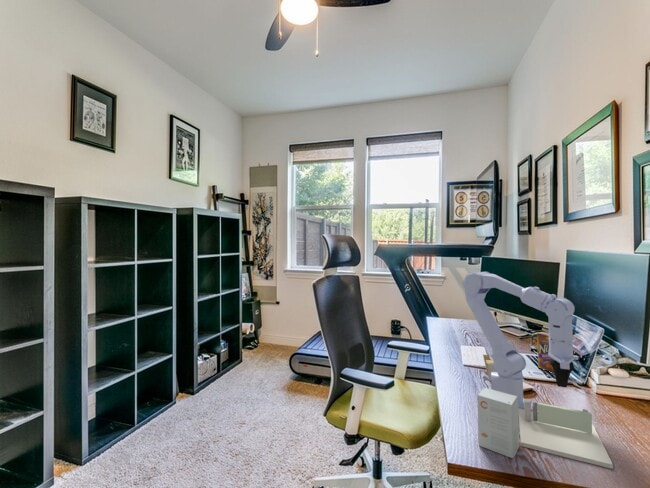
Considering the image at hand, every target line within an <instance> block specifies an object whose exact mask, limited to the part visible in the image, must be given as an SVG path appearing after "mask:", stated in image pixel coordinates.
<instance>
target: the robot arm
mask: <svg viewBox="0 0 650 488" xmlns="http://www.w3.org/2000/svg"><path fill="white" fill-rule="evenodd" d="M462 286H463V288H464V291H465V301H466V303H467V305H468V306H469V309H470V310H471V312H472V314H473V316H474V318H475V320H476V322H477V324H478V325H479V327H480V329H481V330H482V333H483V335H484V337H485V338H486V340H487V342H488V344H489V345H490V347H491V354H490V357H491V358H492V359H493V361H494V368H495V370H496V371H497V372H491V381H490V389H492V390H495V391H499V392H503V393H507V394H511V395H514V396H518V408H519V409H524V400H525V398H524V374H523V371H524V370H525V368H526V366H527V361H526V358H525V357H524V356H523V355H522V354H521V353H520V352H519V351H518V350H517V348H516V346H514V345H512V344H511V343H509V342H508V340H507V338H506V337H505V335H504V333H503V331H502V330H501V328H500V326H499V324H498V322H497V321H496V319H495V317H494V316H493V313H492V312H491V310H490V308H489V307H488V304H487V303H486V302H485V299H486V295H487V293H488V292H489V291H491V289H498V290H500V291H502V292H505V293H507V294H510V295H513V296H516V297H518V298H520V301H521V303H523V304H525V305H526V306H529V307H532V308H534V309H536V310H538V311H540V312H542V313H544V314H545V315H546V316H547V317H548V318H547V319H548V333H549V353H548V355H549V357H551V358H553V359H549V361H550V364H551V365H552V367H553V370H554V374H555V375H554V374H553V375H554V378H555V382H556V384H557V387H560V388H568V387H567V386H568V385H569V384H568V383H569V379H570V375H571V373H572V372H573V370H574V369H575V366H574V364H573V361H575V360H576V361H577V360H579V356H578V355H574V343H573V342H574V341H573V340H574V339H573V320H572V319H573V317H572V315H573V314H574V313H575V308H576V307H575V305H574V303H573V302H572V301H571V300H569V299H567V298H566V297H563V296H562V297H557V295H556V294H554V293H552V294H550V293H547V292H545V291H542V290H540V287H538V286H528V287H523V286H521V285H519V284H516V283H514V282H512V281H509V280H507V279H505V278H503V277H501V276H499V275H497V274H494V273H490V272H489V271H481V272H480V271H479V272H469V273H467V274H466V275H465V277H464V279H463V282H462ZM524 410H525V409H524Z"/></svg>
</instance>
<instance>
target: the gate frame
mask: <svg viewBox="0 0 650 488" xmlns="http://www.w3.org/2000/svg"><path fill="white" fill-rule="evenodd" d="M582 411H584V412H589V410H588V409H585V408H584V409H582ZM518 416H519V440H520V446H521V447H525V448H527V449H532V450H537V451H538V452H539V451H540V452H544V453H547V454H551V455H556V456H559V457H564V458H568V459H572V460H576V461H579V462H584V463H587V464H590V465H591V464H592V465H596V466H598V467H599V466H600V467H603V468H608V469H610V470H611V469H612V470H614V464H613V462H612V460H611V457H610V456H609V454H608V452H607V450H606V448H605V446H604V443H603V442H602V440H601V438H600V436H599V433H598V432H597V429H596V428H595V426H594V424H593V423H592V433H588V432H583V431H578V430H574V429H569V428H564V427H560V426H555V425H551V424H546V423H541V422H538V411H537V421H534V420H533V410H532V402H531V401H530V400H528V399H524V409H520V408H518Z"/></svg>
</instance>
